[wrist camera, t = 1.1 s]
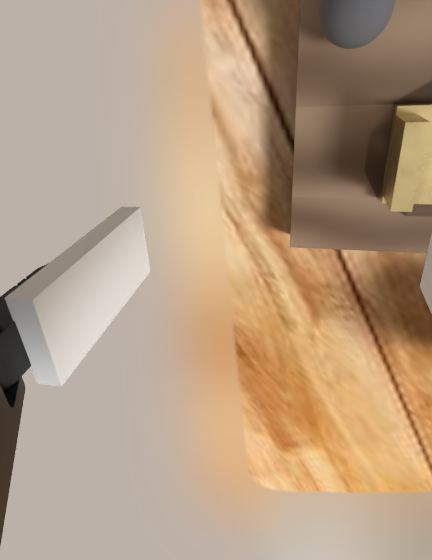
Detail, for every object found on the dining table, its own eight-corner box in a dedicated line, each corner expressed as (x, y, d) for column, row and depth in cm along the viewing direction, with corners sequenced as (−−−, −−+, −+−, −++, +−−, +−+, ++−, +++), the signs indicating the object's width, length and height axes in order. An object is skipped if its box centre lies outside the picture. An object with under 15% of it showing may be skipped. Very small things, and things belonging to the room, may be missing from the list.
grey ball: (321, -27, 22) (322, -42, 19) (394, -35, 21) (408, -52, 18) (316, 51, 24) (316, 50, 20) (383, 47, 23) (394, 45, 20)
